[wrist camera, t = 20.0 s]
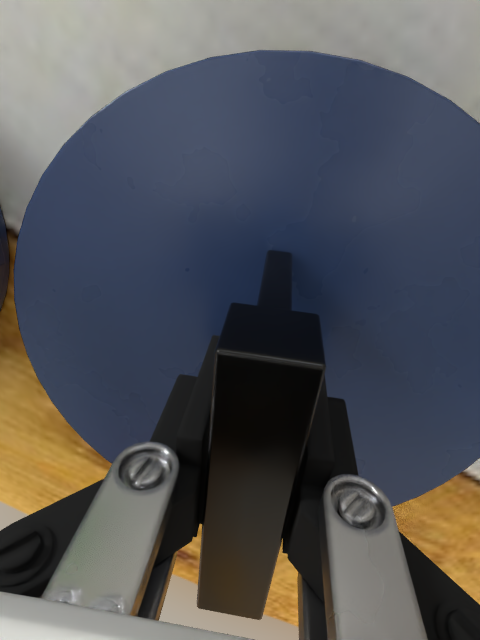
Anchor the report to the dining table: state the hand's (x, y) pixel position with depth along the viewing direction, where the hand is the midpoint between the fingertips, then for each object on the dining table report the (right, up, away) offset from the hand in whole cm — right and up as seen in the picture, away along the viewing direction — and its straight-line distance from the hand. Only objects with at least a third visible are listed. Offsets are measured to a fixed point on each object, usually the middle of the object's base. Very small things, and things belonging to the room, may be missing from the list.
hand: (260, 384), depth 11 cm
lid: (0, +1, +1) cm, 2 cm away
